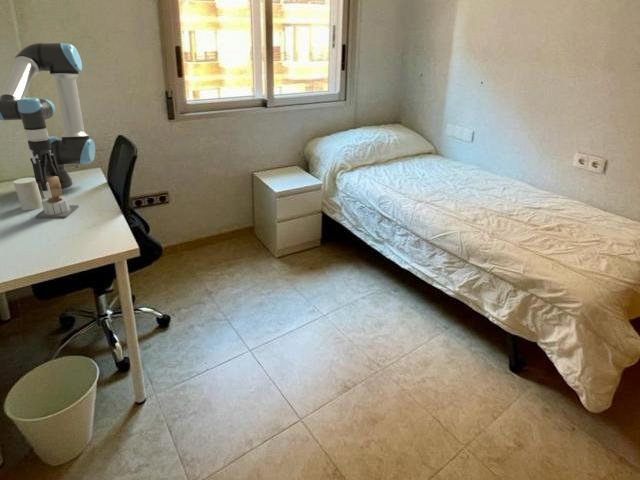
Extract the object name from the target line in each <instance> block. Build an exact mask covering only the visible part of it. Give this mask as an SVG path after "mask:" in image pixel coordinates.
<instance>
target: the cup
mask: <svg viewBox="0 0 640 480" xmlns="http://www.w3.org/2000/svg"><path fill="white" fill-rule="evenodd" d="M13 185H14V188H15V192H16V195H17V198H18V202H19V205H20V208H21V210H22V211H35V210H38V209H41V208H43V206H42V201H43V199H42V196H41V192H40V189H39V188H38V184H37V183H36V180H35V177H23V178H22V177H21V178H17V179H15V180H13Z"/></svg>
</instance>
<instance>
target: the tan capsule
mask: <svg viewBox="0 0 640 480" xmlns="http://www.w3.org/2000/svg"><path fill="white" fill-rule="evenodd" d="M46 179H47V182H48V183H49V187H50V191H51V194H52V198H48V199H49V203H54V202H59V201H60V197H59V196H63V190H62V189H63V188H62V189H61V185H60V181H59V177H58V176H47V177H46ZM40 185H41V184H40ZM41 189H42V187H41ZM41 193H42V196H43V197H44V194H43V191H42V190H41Z"/></svg>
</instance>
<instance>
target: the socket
mask: <svg viewBox="0 0 640 480" xmlns="http://www.w3.org/2000/svg"><path fill="white" fill-rule="evenodd" d="M59 197H60V201H59V202H54V203H49V199H48V198H44V199H42V206H43V207H42V210H41V211H40V212H38V213H37V214H36V215H35V219H67V218H68V217H69V216H70V215H72V214H73V213H74V212H75V211H76V210H77V209H79V208H80V206H79V204H70V202H69V199H68V197H67V196H63V195H60V196H59Z"/></svg>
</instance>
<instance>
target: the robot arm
mask: <svg viewBox="0 0 640 480" xmlns="http://www.w3.org/2000/svg"><path fill="white" fill-rule="evenodd" d="M14 57H15V58H14V59H13V63H12V66H13V68H12V70H11V72H10V74H9V77H8V78H7V81H6V84H5V86H4V88H3V90H2V92H1V93H0V121H21V123H22V126H23V129H24V133H25V137H26V140H28V141H27V144H28V148H29V150H30V151H31V153H32V157H30V162H31V165H32V169H33V174H34V178H35V180H36V183H37V184H38V188H39V191H40V190H41V192H42V191H43V193H42V195H43V194H44V196H43V198H44V199H47V198H52V194H51V191H50V187H49V183H48V182H47V179H46V177H47V176H58V177H59V181H60V185H61V189H64V188H68V187H70V186H72V185H73V180H72V178H71V175H70V174H69V173H68V171H67V170H66V167H65V165H86V164H88V165H89V164H91V163H92V162H93V161H95V160H94V159H95V156H96V144H95V141H94V140H93V139H92V138H90V134H88V133H87V132H85V125H84V120H83V114H82V108H81V101H80V96H79V90H78V89H79V88H78V85H77V79H78V77H79V76H80V74H79V72H81V71H82V70H83V63H82V59H81V56H80V53H79V52H78V49H76V47H75V46H74V45H73V44H71V43H64V42H60V43H57V42H56V43H54V42H53V43H51V42H50V43H49V42H48V43H45V42H42V43H40V42H39V43H38V42H37V43H31V44H29V45H27V46H25V47H23V49H21V50H20V51H19V52H18V53H17V54H16V55H15V56H14ZM41 72H49V74H50V76H51V77H52V78H54V81H55V82H54V83H55V87H56V94H57V99H58V104H59V111H60V115H61V121H62V126H63V134H61V137H60V138H61V139H59V138H58V137H57V136H53V135H52V136H49V132H48V131H49V130H48V127H47V124H46V120H48V119H50V118H52V117H53V116H54V115H55V113H56V106H55V104H54V103H53V102H52V101H51V100H49V99H47V98H38V97H32V96H31V97H26V96H27V93H28V91H29V88H30V86H31V83H32V81H33V79H34V77H35V76H38V75H39V73H41ZM40 184H41V185H40ZM41 187H42V189H41Z"/></svg>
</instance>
